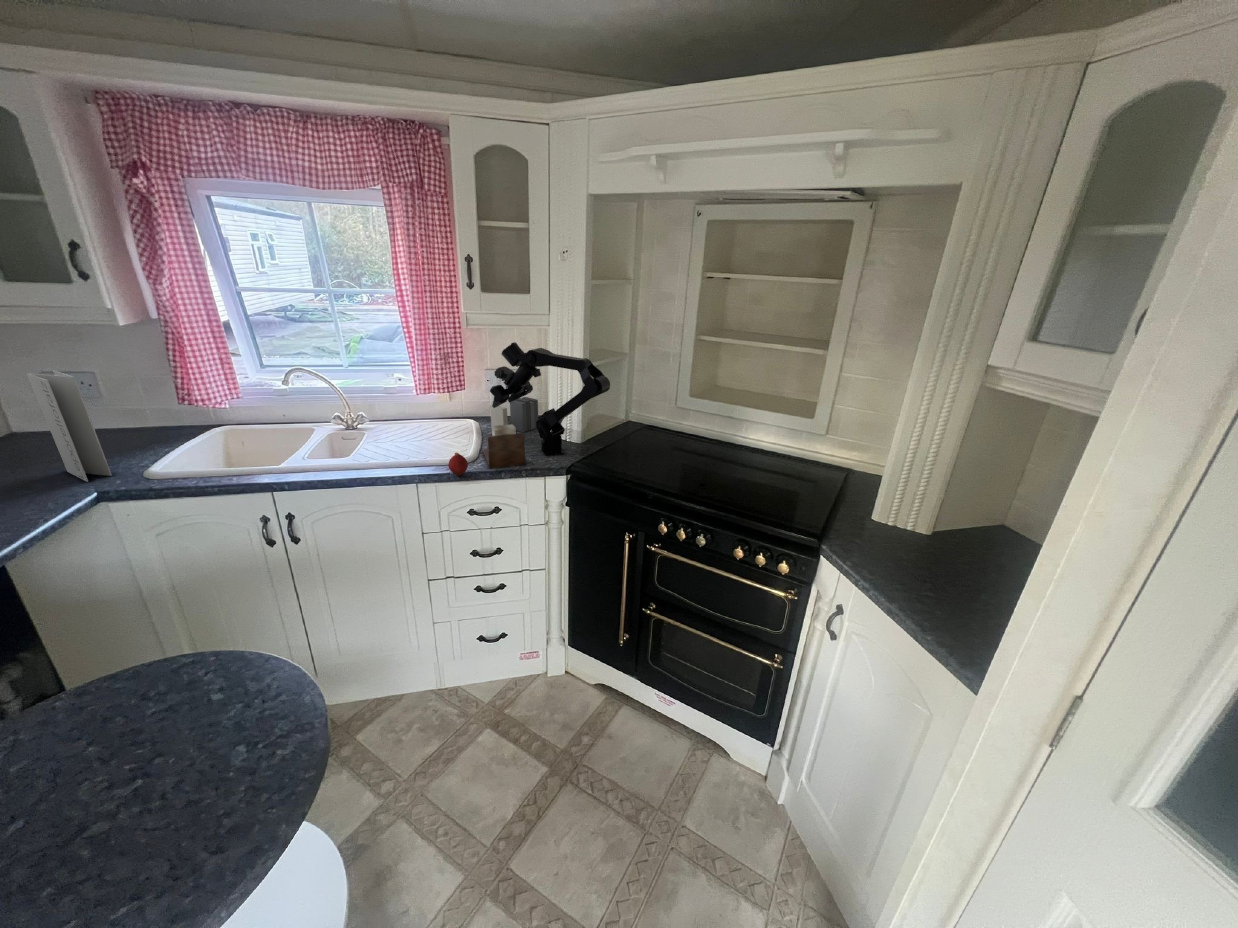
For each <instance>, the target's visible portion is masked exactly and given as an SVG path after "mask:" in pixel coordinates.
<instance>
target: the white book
mask: <svg viewBox="0 0 1238 928" xmlns="http://www.w3.org/2000/svg"><path fill="white" fill-rule="evenodd" d="M489 410H490V426H491V427H490V428H491V436H493V429H492V426H499V425H509V422H508V421H509V419H508V407H506V406H505V407H504V406H501V405H499V406H498V407H496V408H493V407H492V405H490V406H489Z"/></svg>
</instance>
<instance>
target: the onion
mask: <svg viewBox="0 0 1238 928" xmlns="http://www.w3.org/2000/svg"><path fill="white" fill-rule="evenodd" d="M468 467H469V462H468V460H467V459H466V457H465V456H464V455H462V454H460V453H459V452H457V451H456V452H454V455H453V456H451V457H450V459H449V461H448V469H449V470H450V472H451V473H453V474H454V475H456V476H457V477H461V476H462V475H463V474H464V473H466V471H467V470H468Z"/></svg>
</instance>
